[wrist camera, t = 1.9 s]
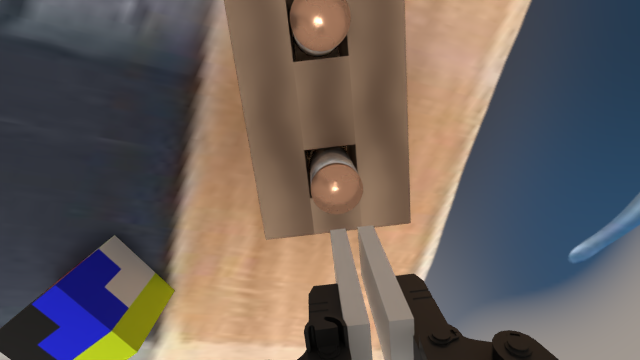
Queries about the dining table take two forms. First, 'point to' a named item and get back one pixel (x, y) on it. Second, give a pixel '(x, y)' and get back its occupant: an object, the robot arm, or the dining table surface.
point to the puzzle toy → (90, 310)
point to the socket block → (324, 113)
